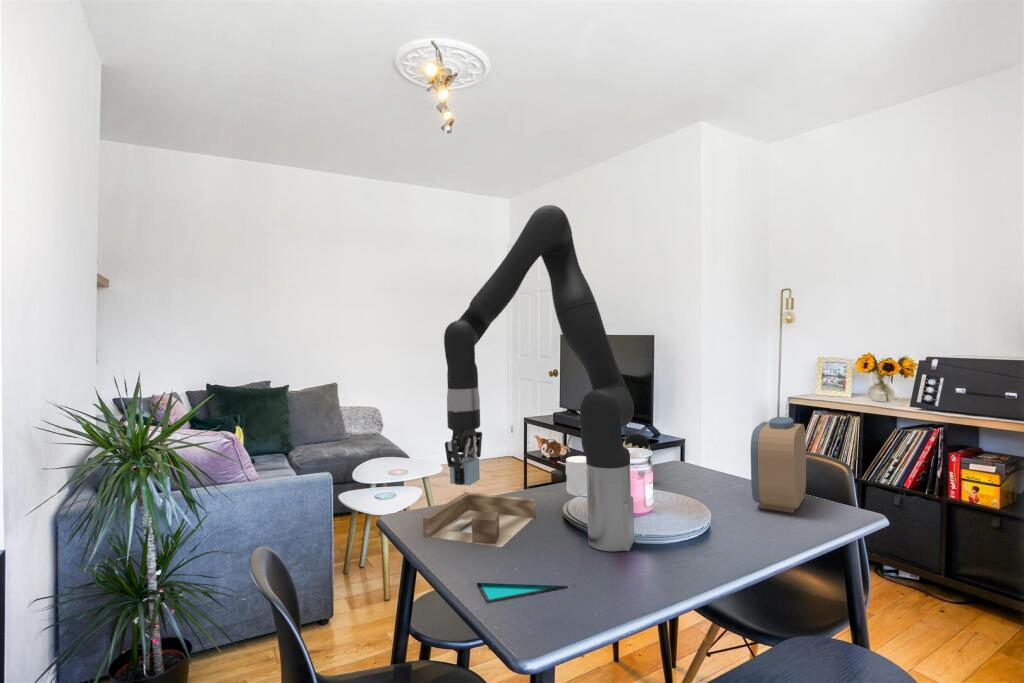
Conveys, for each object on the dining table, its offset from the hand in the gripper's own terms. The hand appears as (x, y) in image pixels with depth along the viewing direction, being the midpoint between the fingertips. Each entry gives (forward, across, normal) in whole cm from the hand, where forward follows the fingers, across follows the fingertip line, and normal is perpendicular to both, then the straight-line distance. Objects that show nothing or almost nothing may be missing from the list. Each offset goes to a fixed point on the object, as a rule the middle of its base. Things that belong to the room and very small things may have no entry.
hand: (465, 480), depth 122 cm
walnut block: (+11, +5, +8) cm, 14 cm away
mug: (+12, -37, +17) cm, 43 cm away
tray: (+12, -2, +3) cm, 12 cm away
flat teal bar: (+12, +20, +22) cm, 32 cm away
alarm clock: (+12, -43, +67) cm, 81 cm away
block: (0, 0, 0) cm, 0 cm away
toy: (+12, -49, +30) cm, 59 cm away
